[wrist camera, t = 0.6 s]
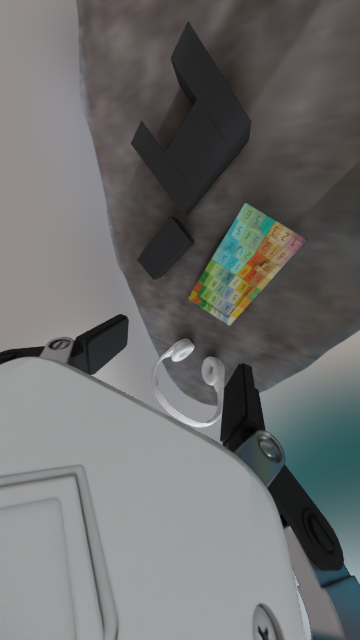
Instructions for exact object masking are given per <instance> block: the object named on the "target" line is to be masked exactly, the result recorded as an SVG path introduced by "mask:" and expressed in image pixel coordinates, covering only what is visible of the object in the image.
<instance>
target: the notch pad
mask: <svg viewBox="0 0 360 640" xmlns="http://www.w3.org/2000/svg"><path fill="white" fill-rule="evenodd" d="M171 61H172V64H173V67H174V70H175V73H176V76H177V79H178V82H179V85H180V87H181V88H182V90H183V91H184V93H185V94H186V96H187V97H188V99H189V100H190V102H191V103H192V105H193V107H192V108H191V110H190V112H189V114H188V115H187V117H186V119H185V120H184V122H183V124H182V125H181V127H180V129H179V130H178V132H177V134H176V136H175V137H174V139H173V141H172V142H171V144H170V146H169V147H168V149H167V151H166V152H164V151H163V149H162V148H161V147H160V145H159V144H158V142H157V141H156V140H155V138H154V137H153V136H152V134H151V133H150V131H149V130H148V129H147V127H146V126H145V125H144V123H143V122H142V121H141V123H140V125H139V127H138V129H137V131H136V134H135V136H134V138H133V140H132V142H131V145H132V146H133V147H134V149H135V150H136V151H137V153H138V154H139V155H140V157H141V158H142V159H143V161H144V162H145V163H146V165H147V166H148V167H149V169H150V170H151V171H152V173H153V174H154V175H155V177H156V178H157V179H158V181H159V182H160V183H161V185H162V186H163V187H164V189H165V190H166V191H167V193H168V194H169V195H170V197H171V198H172V199H173V201H174V202H175V203H176V205H177V206H178V207H179V209H180V210H181V211H182V212H184V213H185V214H186V215H187V214H188V213H189V212H190V211H191V210H192V208H193V207H194V206H195V205H196V204H197V202H198V201H199V200H200V199H201V198H202V196H203V195H204V194H205V193H206V191H207V190H208V189H209V188H210V187H211V185H212V184H213V183H214V182H215V181H216V179H217V178H218V177H219V176H220V175H221V173H222V172H223V171H224V170H225V168H226V167H227V166H228V165H229V164H230V162H231V161H232V160H233V159H234V157H235V156H236V155H237V154H238V153H239V151H240V150H241V149H242V148H243V147H244V145H245V144H246V143H247V142H248V140H249V134H250V126H251V121H250V119H249V117H248V116H247V114H246V113H245V111H244V109H243V108H242V106H241V105H240V103H239V101H238V100H237V98H236V97H235V95H234V93H233V92H232V90H231V89H230V87H229V85H228V84H227V82H226V81H225V79H224V77H223V76H222V74H221V73H220V71H219V70H218V68H217V66H216V65H215V63H214V62H213V60H212V58H211V57H210V55H209V54H208V52H207V50H206V49H205V47H204V46H203V44H202V42H201V41H200V39H199V38H198V36H197V34H196V33H195V31H194V30H193V28H192V26H191V25H190V23H189V22H187V24H186V26H185V29H184V31H183V33H182V35H181V37H180V39H179V41H178V44H177V46H176V48H175V50H174V52H173V54H172V56H171Z"/></svg>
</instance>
